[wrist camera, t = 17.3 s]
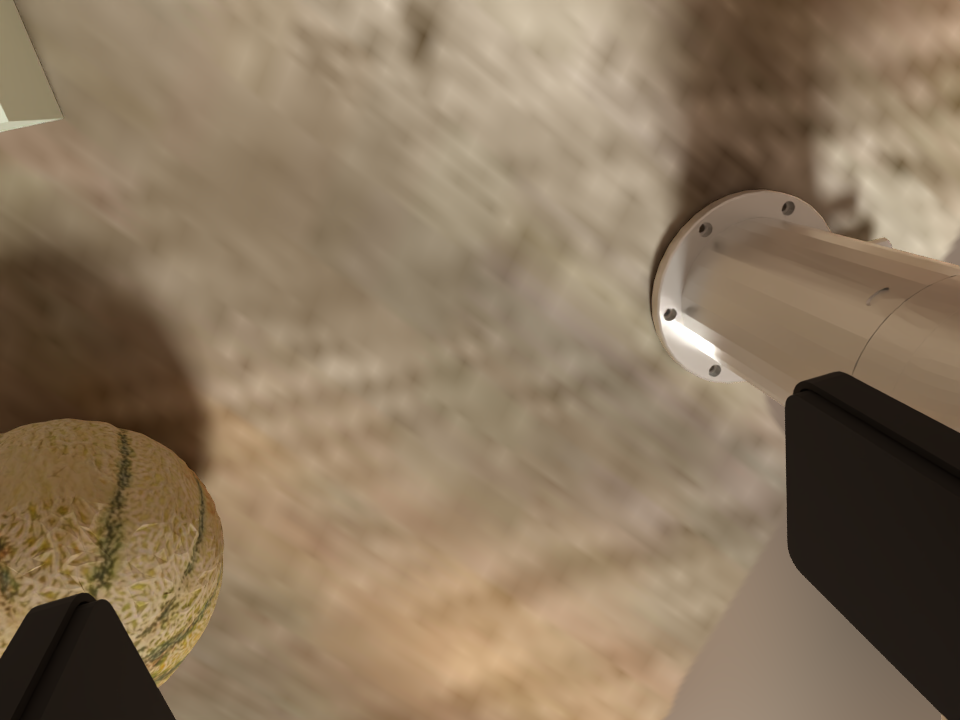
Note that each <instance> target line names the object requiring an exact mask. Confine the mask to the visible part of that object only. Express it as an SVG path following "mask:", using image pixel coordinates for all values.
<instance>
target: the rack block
mask: <svg viewBox="0 0 960 720" xmlns="http://www.w3.org/2000/svg"><path fill="white" fill-rule="evenodd" d="M59 119H64V117H63V115H62V113H61V110H60V108H59V106H58V103H57V101H56V99H55V96H54V94H53V92H52V89H51V87H50V85H49V82H48V80H47V78H46V75H45V73H44V71H43V68H42V66H41V64H40V61H39V59H38V57H37V54H36V52H35V50H34V47H33V45H32V43H31V40H30V38H29V36H28V33H27V31H26V29H25V26H24V24H23V22H22V19H21V17H20V15H19V12H18V10H17V8H16V5H15V3H14V1H13V0H0V132H3V131H7V130H12V129H17V128H21V127H26V126H31V125H36V124H40V123H45V122H50V121H54V120H59Z"/></svg>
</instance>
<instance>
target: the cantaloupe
mask: <svg viewBox="0 0 960 720" xmlns="http://www.w3.org/2000/svg"><path fill="white" fill-rule="evenodd" d="M223 550H224V541H223V531H222V525H221V521H220V518H219V516H218V514H217V512H216V508H215V503H214V501H213V499H212V498H211V496H210V494H209V493H208V492H207V490H206V487H205V485H204V484H203V483H202V482H201V481H200V480H199V478H198V477H197V475H196V474H195V473H194V471H192V470H191V469H189V468H188V466H187V465H186V463H185V461H183V460H182V459H180V458H179V457H178V456H177V455H176V454H175V453H174V452H173V451H172V450H170V449H169V448H167V447H166V446H164V445H162V444H160V443H159V442H157V441H155V440H153V439H151V438H149V437H147V436H146V435H144V434H142V433H138V432H134V431H131V430H126V429H121V428H116V427H115V426H113V425H111V424H109V423H107V422H100V421H84V420H79V419H70V418H66V419H58V420H57V419H56V420H51V421H47V422H39V423H31V424H27V425H24V426H20V427H17V428H15V429H13V430H11V431H9V432H6V433H1V434H0V658H1V656H2V655H3V653H4V651H5V650H6V648H7V646H8V645H9V643H10V641H11V640H12V638H13V636H14V635H15V633H16V631H17V630H18V628H19V626H20V625H21V623H22V621H23V620H24V618H25V616H26V615H27V614H28V612H29V611H30V610H31V609H32V608H34V607H36V606H38V605H41V604H45V603H48V602H51V601H55V600H58V599H62V598H65V597H68V596H72V595H75V594H79V593H82V592H83V593H89V594H90V595H92V596H93V597H94V598H95V599H96V600H100V599H106V600H107V601H108V602H110V604H111V605H112V606H113V608H114V610H115V611H116V613H117V615H118V617H119V619H120V620H121V622H122V624H123V626H124V628H125V629H126V631H127V633H128V635H129V637H130V638H131V640H132V642H133V644H134V646H135V647H136V649H137V651H138V653H139V655H140V656H141V658H142V660H143V662H144V664H145V665H146V667H147V669H148V671H149V673H150V674H151V676H152V678H153V680H154V682H155V683H156V685H157V687H159V686H160V685H162V684H163V683H164V682H166V681H167V680H168V678H169V677H170V676H171V675H172V674H173V673H174V671H175V670H176V669H177V668H178V667H179V666H180V664H181V663H182V661H183V660H184V659H185V657H186V656H187V655H188V654H189V652H190V651H191V650H192V648H193V647H194V645H195V644H196V642H197V641H198V639H199V638H200V637H201V635H202V633H203V631H204V630H205V628H206V626H207V624H208V622H209V620H210V618H211V615H212V613H213V611H214V608H215V605H216V602H217V598H218V595H219V591H220V587H221V584H222V573H223Z"/></svg>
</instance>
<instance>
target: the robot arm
mask: <svg viewBox="0 0 960 720" xmlns="http://www.w3.org/2000/svg"><path fill="white" fill-rule="evenodd" d="M700 227H701V229H700V230H699V228H700ZM666 310H667V311H666ZM665 311H666V313H664V312H665ZM652 316H653V321H654V325H655V329H656V333H657V336H658V338H659V340H660V342H661V344H662V346H663V348H664V349H665V350H666V352H667V353H668V354H669V355H670V356H671V358H672V359H673V360H674V361H675V362H677V363H678V364H679V365H680V366H682V367H683V368H684V369H685V370H687V371H689V372H690V373H692V374H694V375H695V376H697V377H699V378H702V379H705V380H708V381H711V382H719V383H738V382H746V381H747V382H748V383H750V384H751V385H753V386H754V387H756V388H757V389H759V390H760V391H762V392H763V393H765V394H766V395H768V396H769V397H771V398H772V399H774V400H775V401H777V402H778V403H780V404H781V405H783V406H784V407H785V435H786V488H787V539H788V540H787V541H788V550H789V554H790V557H791V559H792V561H793V563H794V564H795V566H796V568H797V569H798V570H799V571H800V573H801V574H802V575H804V576H805V578H807V580H808V581H809V582H811V584H812V585H813V586H815V588H816V589H817V590H818V591H819V592H820V593H821V594H822V595H823V596H825V598H826V599H827V600H828V601H829V602H830V603H831V604H832V605H833V606H834V607H836V609H838V611H840V613H841V614H842V615H844V617H846V619H847V620H848V621H849V622H850V623H851V624H852V625H853V626H854V627H855V628H856V629H857V630H858V631H859V632H860V633H861V634H862V635H863V636H864V637H865V638H866V639H868V641H869V642H870V643H871V644H872V645H873V646H874V647H875V648H876V649H877V650H878V651H880V653H881V654H882V655H883V656H885V658H886V659H887V660H888V661H889V662H890V663H891V664H892V665H893V666H895V668H896V669H897V670H898V671H899V672H900V673H901V674H902V675H903V676H904V677H905V678H906V679H907V680H908V681H909V682H910V683H911V684H913V686H914V687H915V688H916V689H917V690H918V691H919V692H920V693H921V694H922V695H923V696H924V697H925V698H926V699H927V700H928V701H929V702H930V703H931V704H932V705H933V706H934V707H935V708H936V709H937V710H938V711H939V712H940V713H941V720H960V266H959V265H955V264H951V263H947V262H943V261H939V260H935V259H932V258H928V257H924V256H920V255H916V254H912V253H908V252H905V251H901V250H897V249H893V248H892V244H891V243H890V241H889V240H888V239H886V238H879V239H875V240H871V241H867V242H866V241H862V240H858V239H854V238H850V237H847V236H843V235H839V234H835V233H831V230H830V229H829V227H828V225H827V224H826V222H825V220H824V219H823V217H822V216H821V215H820V214H819V213H818V212H817V211H816V210H815V209H814V208H813V207H812V206H811V205H809V204H808V203H806V202H805V201H803V200H801V199H800V198H798V197H795V196H792V195H789V194H786V193H782V192H777V191H771V190H765V189H763V190H746V191H742V192H738V193H734V194H730V195H727V196H725V197H723V198H721V199H719V200H717V201H715V202H713V203H711V204H709V205H708V206H707V207H705V208H704V209H702V210H701V211H699V212H698V213H697V214H695V215H694V216H693V217H692V218H691V219H690V220H689V221H688V222H687V223H686V224H685V225H684V226H683V227H682V228H681V229H680V231H679V232H678V233H677V235H676V236H675V237H674V239H673V240H672V242H671V243H670V244H669V246H668V248H667V250H666V252H665V254H664V256H663V258H662V260H661V262H660V264H659V267H658V271H657V274H656V277H655V280H654V286H653V293H652ZM0 720H176V719H175V718H174V716H173V714H172V712H171V710H170V709H169V707H168V705H167V703H166V701H165V700H164V698H163V696H162V694H161V692H160V691H159V689H158V687H157V685H156V683H155V682H154V680H153V678H152V676H151V674H150V673H149V671H148V669H147V667H146V665H145V664H144V662H143V660H142V658H141V656H140V655H139V653H138V651H137V649H136V647H135V646H134V644H133V642H132V640H131V638H130V637H129V635H128V633H127V631H126V629H125V628H124V626H123V624H122V622H121V620H120V619H119V617H118V615H117V613H116V611H115V610H114V608H113V606H112V605H111V604H110V602H108V601H107V600H106V599H100V600H96V599H95V598H94V597H93V596H92V595H90V594H89V593H83V592H82V593H79V594H75V595H72V596H68V597H65V598H62V599H58V600H55V601H51V602H48V603H45V604H41V605H38V606H36V607H34V608H32V609H31V610H30V611H29V612H28V614H27V615H26V616H25V618H24V620H23V621H22V623H21V625H20V626H19V628H18V630H17V631H16V633H15V635H14V636H13V638H12V640H11V641H10V643H9V645H8V646H7V648H6V650H5V651H4V653H3V655H2V656H1V658H0Z"/></svg>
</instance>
